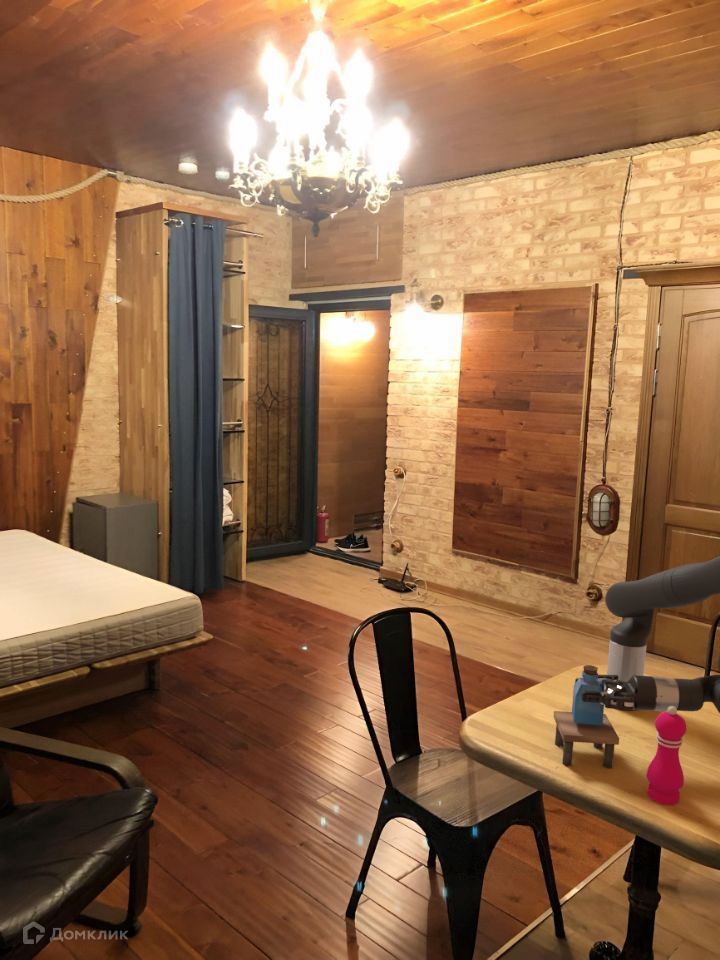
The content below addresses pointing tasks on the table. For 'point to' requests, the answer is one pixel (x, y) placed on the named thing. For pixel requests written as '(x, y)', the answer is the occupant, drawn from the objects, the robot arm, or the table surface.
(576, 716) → the perfume bottle
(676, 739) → the pepper mill
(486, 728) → the table surface
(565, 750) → the brown legged piece
